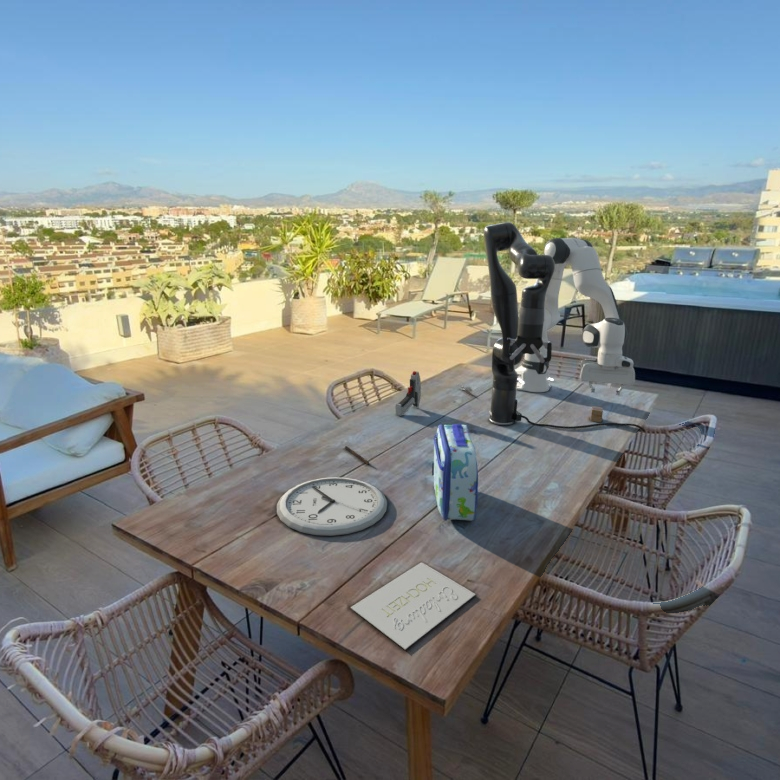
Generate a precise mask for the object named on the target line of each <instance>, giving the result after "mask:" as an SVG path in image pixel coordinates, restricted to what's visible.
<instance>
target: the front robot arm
mask: <svg viewBox="0 0 780 780" xmlns="http://www.w3.org/2000/svg"><path fill="white" fill-rule="evenodd" d="M483 243H484V250H485V257H486V262H487V267H488V268H487V269H488V276H489V287H490V299H491V308H492V311H493V314H494V316H495V318H496V320H497V323H498V326H499V328H500V331H501V337H500V338H498V339H497V340H496V341H495V343H494V344H493V347H492V351H491V373H492V388H491V399H490V409H489V411H488V412H489V413H488V414H490V415H489V422H490V423H491V424H494V425H497V426H511V425H513V424H516V423H517V422H521V421H522V419H524V420H526V422H527V423H528V424H530V425H532V426H538V427H548V428H555V429H564V430H565V429H566V430H567V429H569V430H570V429H571V430H573V429H574V430H575V429H584V428H592V427H598V426H600V427H601V426H623V427H627V426H629V427H636V428H638V429H640V430H641V431H642V432H646V430H645V429H644V427H642V426H641V425H639V424H636V423H621V422H598V423H592V424H591V423H590V424H584V425H576V426H575V425H574V426H573V425H572V426H568V425H567V426H564V425H563V426H562V425H554V424H548V423H536V422H533V421H530V419H529V418H528V417H527V416H526V415H523V413H521V412H519V411H518V399H517V390H516V389H517V379H518V374H517V372H516V371H515V369H516V368H515V366H517V365H519V364H520V363H521V362H522V361H521V360H523V359H524V355H525V354H527V353H528V354H532V355H533V354H536V356H537V357H538V358H539V360H540V364H539V373H538V374H541V373H543V371H544V363H545V362H549V363H550V362H551V360H552V354H553V353H552V352H553V351H552V350H553V341H551V340H548V341H549V342H543V341H542V333H543V323H544V306H545V296H546V292H547V289H548V286H549V283H550V281H551V278H552V276H553V273H554V270H555V262H554V260H553V258H552V257H551V256H549V255H544V254H538V252H537V251H536V249H535V248H534V247H532V246H531V245H530V244H528V243H527V242H526V241H525V238H524V237H523V235H522V234H521V232H520V230H519V229H518V228H517V226H516V225H515V224H514V223H512V222H509V221H508V222H501V223H496V224H491V225H486V226H485V227H484V229H483ZM503 251H508V256H509V259H510V260H511V262H512V263H513V264H514V265H516V268H517V271H518V275H519V276H520V277H521V278H522V279H527V280H536V279H538V280H537V282H536V281H535V282H536V284H535V283H534V284H533V285H530V286H525V287H524V288H523V289H522V291H521V298H520V307H519V306H518V292H517V290H518V289H517V286H516V283H515V282H514V281H513V279H512V278H511V277H510V275H509V274H508V273H507V271H506V270H505V269H504V268H503V266H502V265H501V263H500V260H499V256H498V252H503ZM519 308H520V309H519ZM542 345H544V346H545V349H547V357H544V356H543V355H542V353H541V351H540V350H539V349H540V348H541V347H542Z"/></svg>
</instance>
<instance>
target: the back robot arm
mask: <svg viewBox="0 0 780 780" xmlns="http://www.w3.org/2000/svg"><path fill="white" fill-rule="evenodd" d="M543 255H549V256H551V257H552V258H553V260H554V262H555V270H554V273H553V276H552V278H551V281H550V283H549V286H548V289H547V292H546V296H545V306H544V323H543V333H542V341H543V342H549V341H550V340H549V338H548V337H549V336H548V330H549V329H550V330H551V329H553V327H555V326H556V325H557V324H558V323H559V322H560V320H561V313H560V310H559V296H560V291H561V285H562V280H563V275H564V271H565V269H566V267H567V266H569V265H570V267H571V271H572V279H573V284H574V287H575V289H576V291H577V292H578V293H579V294H581V295H583V296H585V297H588V298H590V299H593V300H594V301H596V302H598V303H599V304H600V306H601V308H602V312H603V314H604V319H603V320H601V321H599V322H595V323H591V324H587V325H586V326H585V327H584V328H583V330H582V332H581V340H582V342H583V344H584V345H585V346H586V347H587V348H598V350H597V358H589V357H585V358H583V359H581V361H580V368H581V370H580V375H579V380H581V382H588V386H589V388H590V393H595V391H596V387H593V384H594V383H600V384H601V383H602V384H613V385H619V388H618V389H615V396H620V395H621V391H622V390H623V389H624V388H625V386H633V385H634V384H635V383H636V372H635V371H636V370H635V368H634V365H635V363H634V359H632V358H629V357H627V356H624V355H623V346H624V344H625V342H626V341H627V339H628V336H629V335H628V334H629V333H628V328H627V327H626V325H625V322H624V320H623V317H622V316H621V312H620V309H619V306H618V302H617V300H616V297H615V296H616V295H615V294H614V291H613V289H612V287H611V286H610V285H609V284H608V283H607V282H606V280H605V277H604V275H603V272H602V266H601V261H600V258H599V255H598V253H597V250H596V248H594V247H593V244H592V243H591V241H589V240H587V239H585V238H576V237H555V238H552V239H549V240H548V241H547V242H546V243H545V244H544V247H543ZM537 280H538V279H535V282H534V285H535V284H536V282H537ZM539 350H540V351H541V353H542V355H543V356H544V357H547V349H545V346H544V345H542V347H541V348H540V349H539ZM520 362H521V365H519V366H518V367H517V368H514V369H515V371H516V372H517V374H518V379H517V389H516V391H524V392H529V393H545V392H548V391H549V390H550V388H552V385H551V383H550V381H552V382H553V381H554V378H551V377H550V370H549V368H550V361H549V362H545V363H544V371H543V373H541V374H538V373H539V364H540V360H539V358H538V357H537V356H536V354H533V355H532V354H528V353H527V354H524V357H523V358H522V360H521V361H520Z"/></svg>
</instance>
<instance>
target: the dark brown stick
mask: <svg viewBox="0 0 780 780" xmlns="http://www.w3.org/2000/svg"><path fill="white" fill-rule="evenodd" d="M344 449H345V450H346V451H348V452H349V453H350V454H352V455H353V456H355V457H356V458H358V459H359V460H361V461H362V462H363V463H364V464H366V465H370V461H368V460H367V459H366V458H364V457H363V456H361V455H360V454H358V453H357V452H356V451H354V450H353V449H352V448H350V447H348V446H347V445H345V446H344Z"/></svg>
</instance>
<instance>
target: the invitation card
mask: <svg viewBox="0 0 780 780" xmlns="http://www.w3.org/2000/svg"><path fill="white" fill-rule="evenodd" d="M475 596H476V593H474V591H471V590H469V589H468V588H466V587H464V586H463V585H461V584H459V583H458V582H456V581H454V580H453V579H451V578H449V577H448V576H446V575H444V574H442V573H441V572H439V571H438V570H436V569H434V568H432V567H430V566H429V565H427V564H426V563H424V562H419V563H417V564H416V565H414V566H413V567H412V568H410V569H408V570H407V571H405V572H404V573H402V574H400V575H399V576H397V577H396V578H394V579H392V580H391V581H390V582H388V583H386V584H385V585H383V586H382V587H380V588H378V589H377V590H375V591H373V592H372V593H370V594H369V595H367V596H366V597H364V598H363V599H361V600H359V601H358V602H356V603H355V604H354V605H352V606H350V609H351V610H352V611H353V612H355V613H356V614H357V615H358V616H360V617H361V618H363V619H364V620H365V621H367V622H368V623H369V624H371V625H372V626H373V627H374V628H376V629H377V630H379V631H380V632H381V633H382V634H383V635H385V636H386V637H388V638H389V639H390V640H391V641H393V642H394V643H395V644H397V645H398V646H399V647H401V648H402V649H403V650H405V651H406V650H407V649H408V648H409V647H412V645H413V644H415V643H416V642H418V640H420V639H421V638H422V637H424V636H425V635H427V633H429V632H430V631H431V630H432V629H434V628H435V627H436V626H438V625H439V624H440V623H442V622H443V621H444V620H446V618H448V617H449V616H450V615H452V614H453V613H454V612H456V611H457V610H458V609H459V608H461V607H462V606H463V605H465V604H466V603H467V602H468V601H470V600H471V599H472V598H473V597H475Z"/></svg>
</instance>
